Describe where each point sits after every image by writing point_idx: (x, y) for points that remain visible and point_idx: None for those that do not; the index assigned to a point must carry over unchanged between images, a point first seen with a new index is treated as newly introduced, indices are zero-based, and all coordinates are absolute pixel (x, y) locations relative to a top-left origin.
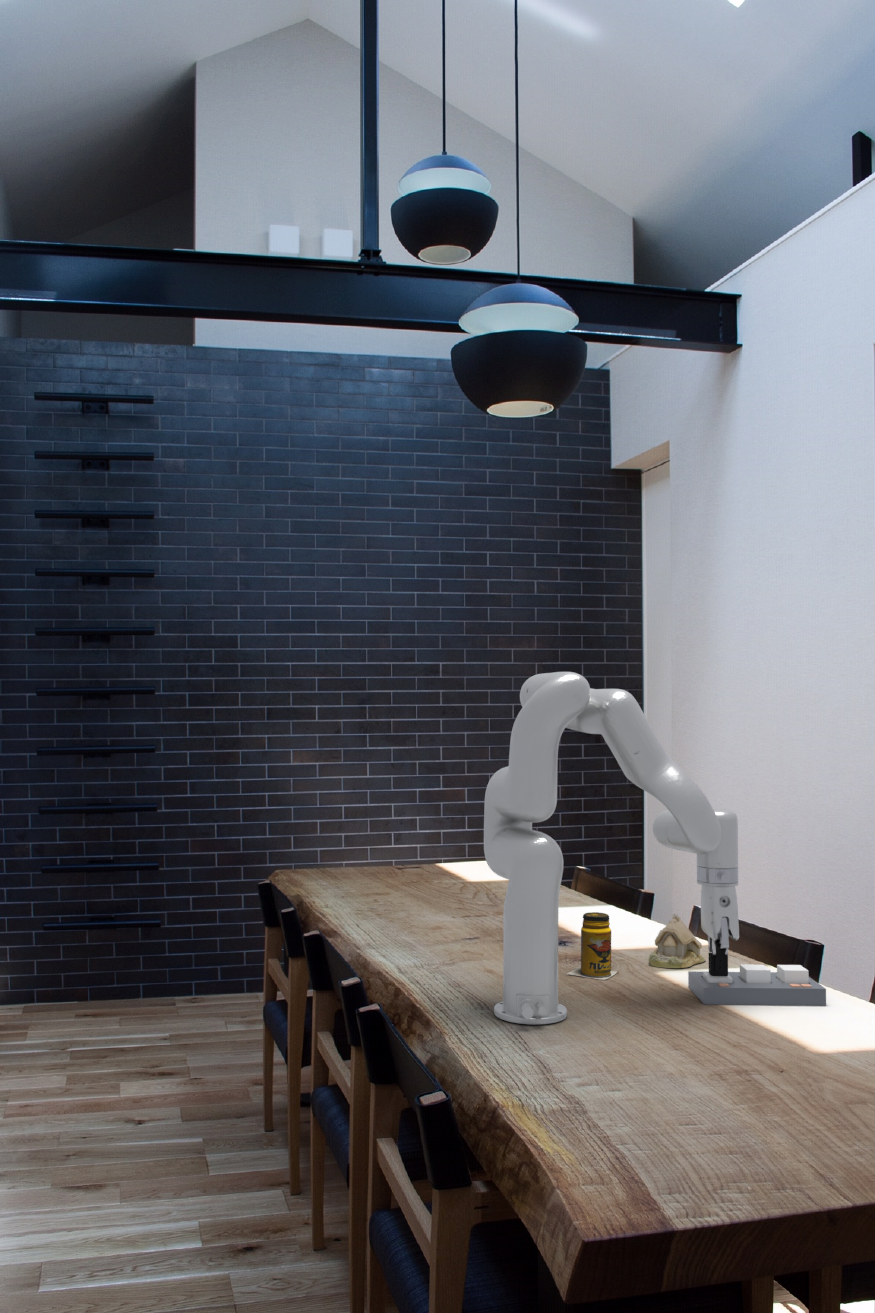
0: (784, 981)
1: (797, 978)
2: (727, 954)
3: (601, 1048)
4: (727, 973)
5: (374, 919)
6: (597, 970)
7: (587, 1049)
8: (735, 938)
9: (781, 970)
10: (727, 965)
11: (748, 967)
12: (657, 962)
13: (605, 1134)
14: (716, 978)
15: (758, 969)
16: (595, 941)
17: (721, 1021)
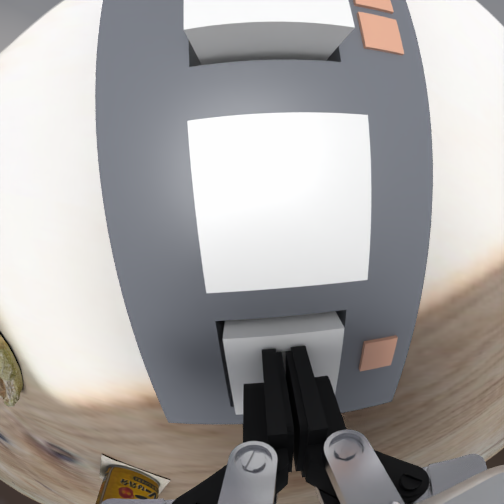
0: (332, 51)
1: None
2: (360, 434)
3: (488, 432)
4: (306, 353)
5: (39, 497)
6: (156, 492)
7: (484, 439)
8: (464, 492)
9: (286, 28)
10: (314, 381)
11: (295, 253)
12: (18, 390)
13: None
14: (336, 383)
15: (352, 194)
16: None
17: (485, 331)
